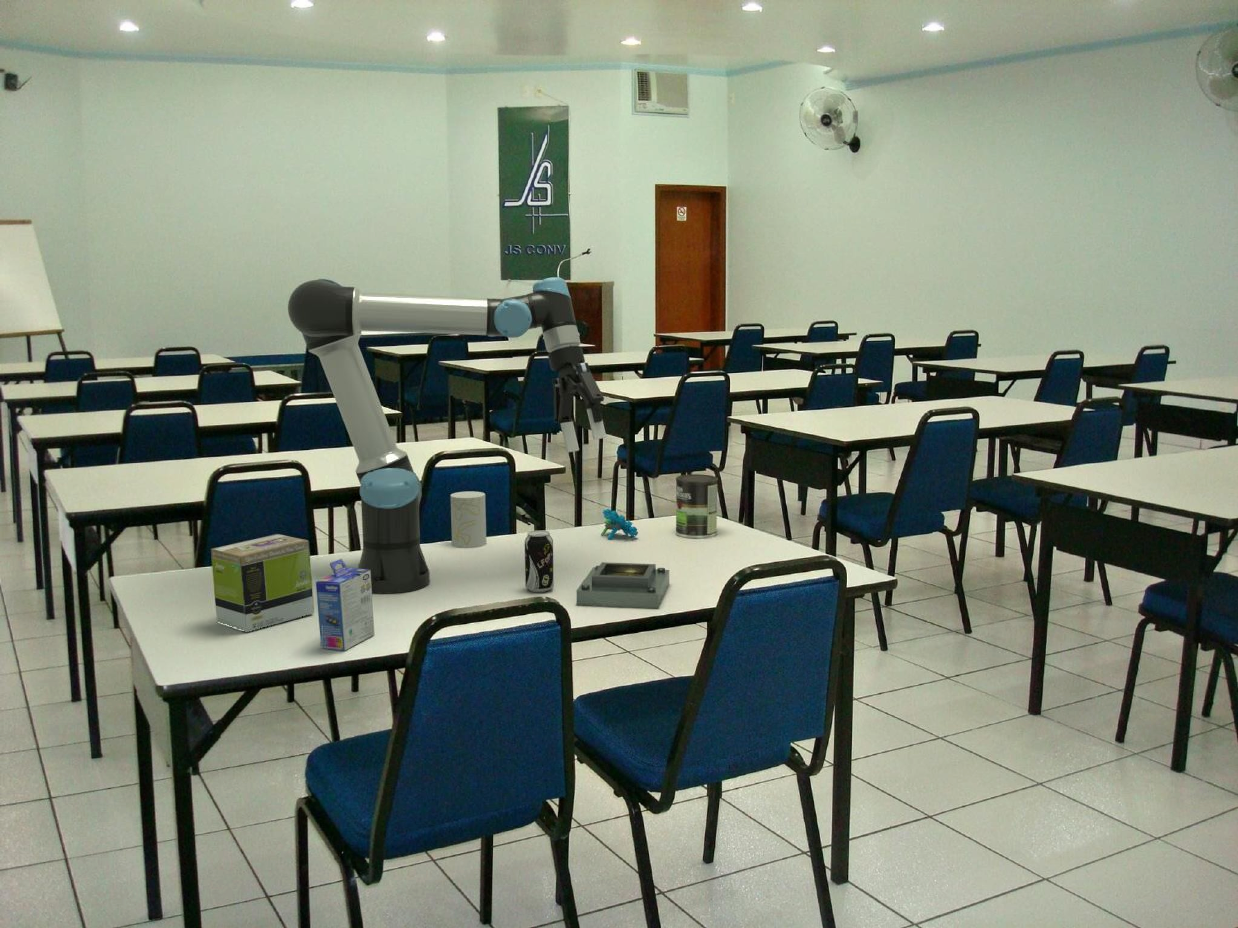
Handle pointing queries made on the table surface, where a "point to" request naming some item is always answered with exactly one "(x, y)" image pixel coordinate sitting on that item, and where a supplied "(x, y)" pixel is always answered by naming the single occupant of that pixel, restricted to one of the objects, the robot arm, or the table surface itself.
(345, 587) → the ink cartridge box
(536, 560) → the beverage can
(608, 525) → the blue lumpy piece
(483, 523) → the cup
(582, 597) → the grey socket fixture
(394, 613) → the table surface
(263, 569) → the tea box
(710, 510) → the coffee can
